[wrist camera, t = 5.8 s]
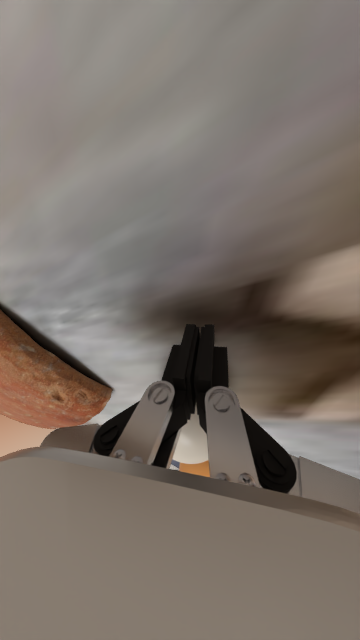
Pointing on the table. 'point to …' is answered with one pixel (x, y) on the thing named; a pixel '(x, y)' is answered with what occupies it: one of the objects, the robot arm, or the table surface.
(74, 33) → the table surface
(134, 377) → the table surface
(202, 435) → the cue ball
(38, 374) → the ceramic shard
